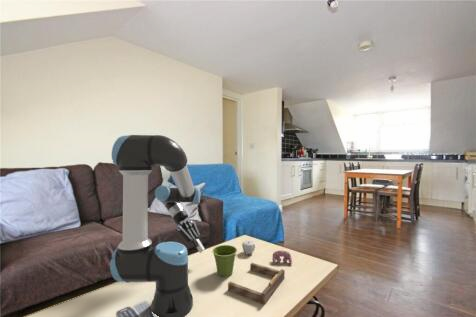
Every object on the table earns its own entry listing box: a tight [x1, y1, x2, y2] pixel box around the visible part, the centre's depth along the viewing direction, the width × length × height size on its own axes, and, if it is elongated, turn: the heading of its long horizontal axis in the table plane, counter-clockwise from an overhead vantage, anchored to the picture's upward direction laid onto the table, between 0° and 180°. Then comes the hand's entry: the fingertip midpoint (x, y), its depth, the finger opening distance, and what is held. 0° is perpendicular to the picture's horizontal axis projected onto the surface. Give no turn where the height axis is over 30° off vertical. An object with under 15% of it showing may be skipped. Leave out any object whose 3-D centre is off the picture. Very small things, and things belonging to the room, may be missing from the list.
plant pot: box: [211, 244, 238, 278], centre depth 110 cm, size 12×12×11 cm
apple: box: [241, 240, 256, 255], centre depth 132 cm, size 8×8×7 cm
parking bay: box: [227, 262, 285, 305], centre depth 101 cm, size 17×21×5 cm
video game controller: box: [271, 250, 293, 266], centre depth 121 cm, size 10×5×7 cm, turn 85°
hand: (202, 251), depth 117 cm, fingers closed
